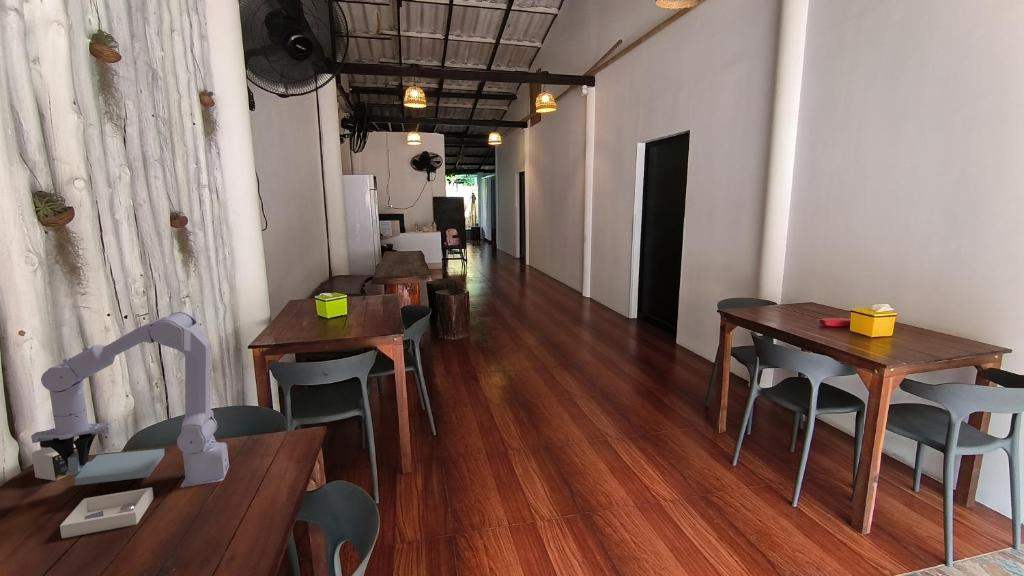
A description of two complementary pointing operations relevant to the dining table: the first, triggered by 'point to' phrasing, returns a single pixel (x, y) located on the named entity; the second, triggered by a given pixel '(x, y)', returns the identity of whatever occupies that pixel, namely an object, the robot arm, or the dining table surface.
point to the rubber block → (94, 515)
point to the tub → (106, 512)
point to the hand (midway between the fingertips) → (77, 464)
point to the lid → (114, 466)
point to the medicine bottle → (49, 462)
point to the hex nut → (127, 507)
